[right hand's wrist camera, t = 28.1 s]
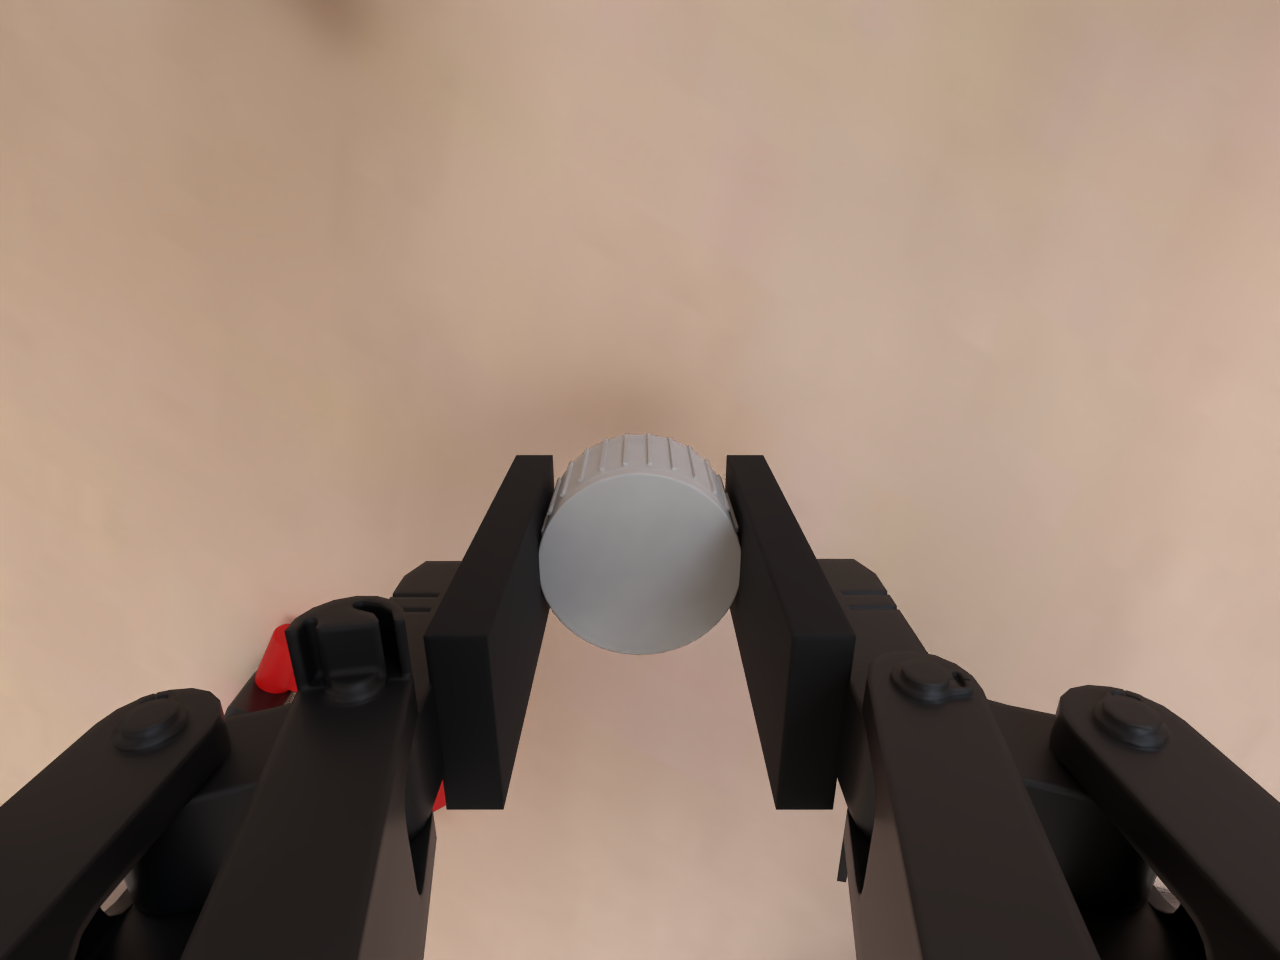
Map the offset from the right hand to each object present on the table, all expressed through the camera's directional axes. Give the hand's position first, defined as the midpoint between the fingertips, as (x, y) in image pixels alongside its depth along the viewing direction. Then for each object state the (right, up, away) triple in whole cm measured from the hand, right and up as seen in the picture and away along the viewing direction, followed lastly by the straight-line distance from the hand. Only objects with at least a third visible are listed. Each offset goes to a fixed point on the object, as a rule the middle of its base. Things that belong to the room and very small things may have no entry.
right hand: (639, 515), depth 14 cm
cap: (0, -1, -2) cm, 2 cm away
